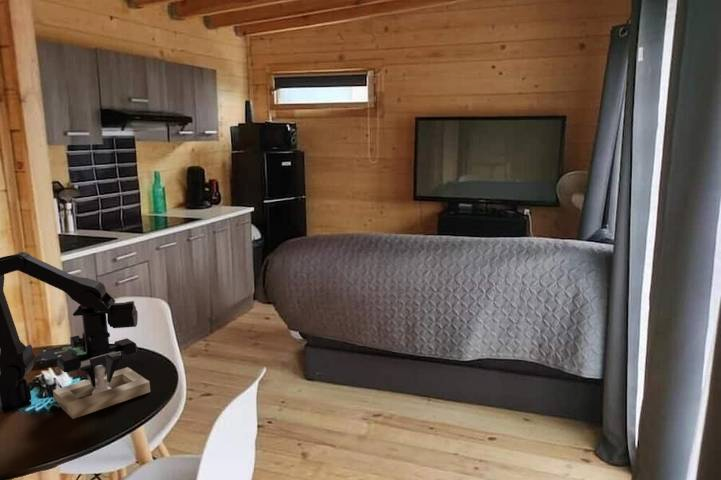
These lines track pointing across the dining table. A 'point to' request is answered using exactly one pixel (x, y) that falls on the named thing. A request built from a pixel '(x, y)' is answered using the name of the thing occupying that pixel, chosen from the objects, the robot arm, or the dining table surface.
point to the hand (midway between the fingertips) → (101, 384)
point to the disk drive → (54, 355)
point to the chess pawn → (100, 379)
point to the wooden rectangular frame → (92, 403)
